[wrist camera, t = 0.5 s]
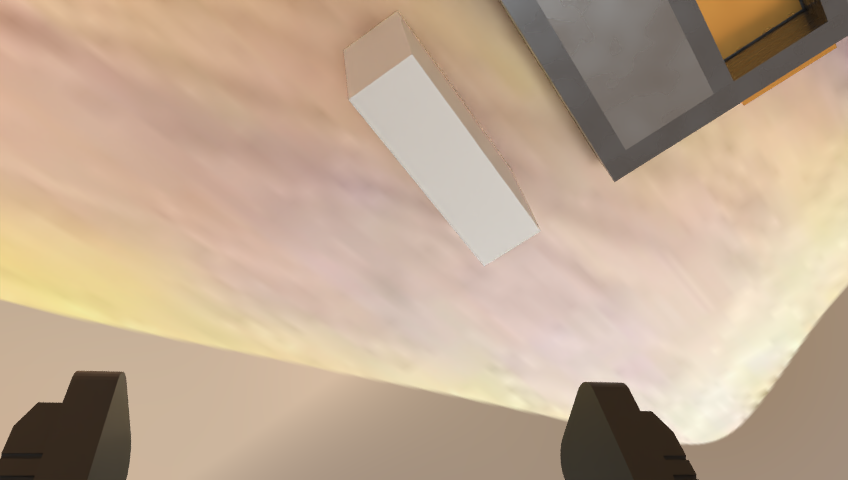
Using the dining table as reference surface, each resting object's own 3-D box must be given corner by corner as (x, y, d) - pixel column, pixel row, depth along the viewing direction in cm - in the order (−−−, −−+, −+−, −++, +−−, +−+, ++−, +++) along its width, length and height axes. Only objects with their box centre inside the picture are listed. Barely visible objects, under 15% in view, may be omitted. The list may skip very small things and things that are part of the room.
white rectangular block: (397, 9, 34) (412, 54, 29) (511, 169, 39) (540, 231, 34) (343, 49, 34) (348, 99, 29) (462, 201, 39) (483, 266, 34)
